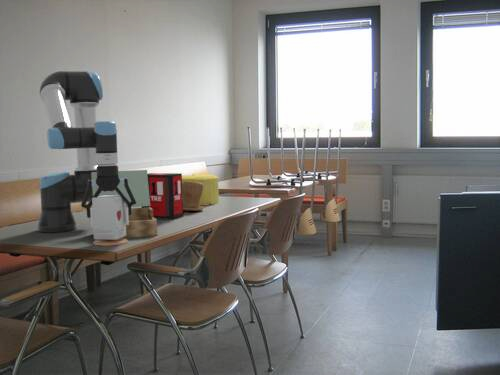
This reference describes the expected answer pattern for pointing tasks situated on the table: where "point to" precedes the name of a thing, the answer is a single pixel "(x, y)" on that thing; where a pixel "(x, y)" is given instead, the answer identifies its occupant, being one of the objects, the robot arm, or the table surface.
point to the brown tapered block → (191, 195)
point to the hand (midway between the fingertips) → (109, 225)
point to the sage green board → (130, 186)
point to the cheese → (205, 187)
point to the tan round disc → (110, 242)
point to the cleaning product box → (165, 195)
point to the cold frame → (141, 223)
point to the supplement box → (109, 217)
